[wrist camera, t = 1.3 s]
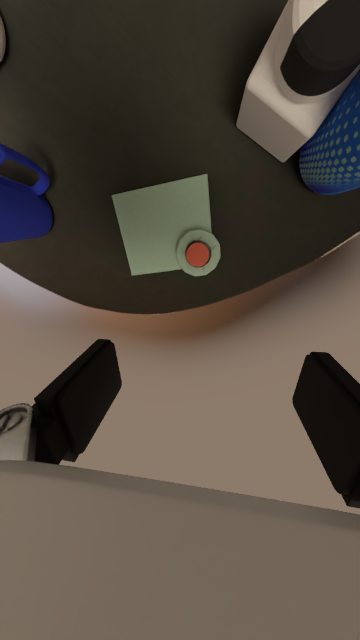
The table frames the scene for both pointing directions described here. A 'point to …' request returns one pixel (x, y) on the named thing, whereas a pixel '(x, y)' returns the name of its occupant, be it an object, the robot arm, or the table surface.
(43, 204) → the mug
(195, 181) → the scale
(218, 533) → the robot arm
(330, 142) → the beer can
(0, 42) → the garlic bulb
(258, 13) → the table surface
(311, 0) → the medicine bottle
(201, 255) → the power button
